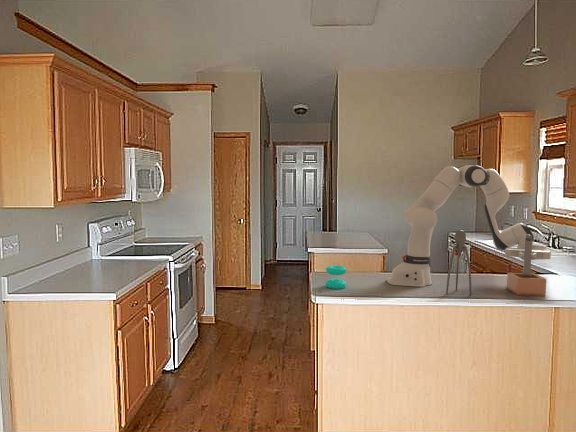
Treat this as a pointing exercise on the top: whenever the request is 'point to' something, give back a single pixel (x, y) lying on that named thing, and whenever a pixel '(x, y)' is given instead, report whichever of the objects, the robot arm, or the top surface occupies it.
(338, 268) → the donuts
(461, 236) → the juicer
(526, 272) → the pepper mill
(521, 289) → the orange open box
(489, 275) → the top surface
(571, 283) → the top surface
